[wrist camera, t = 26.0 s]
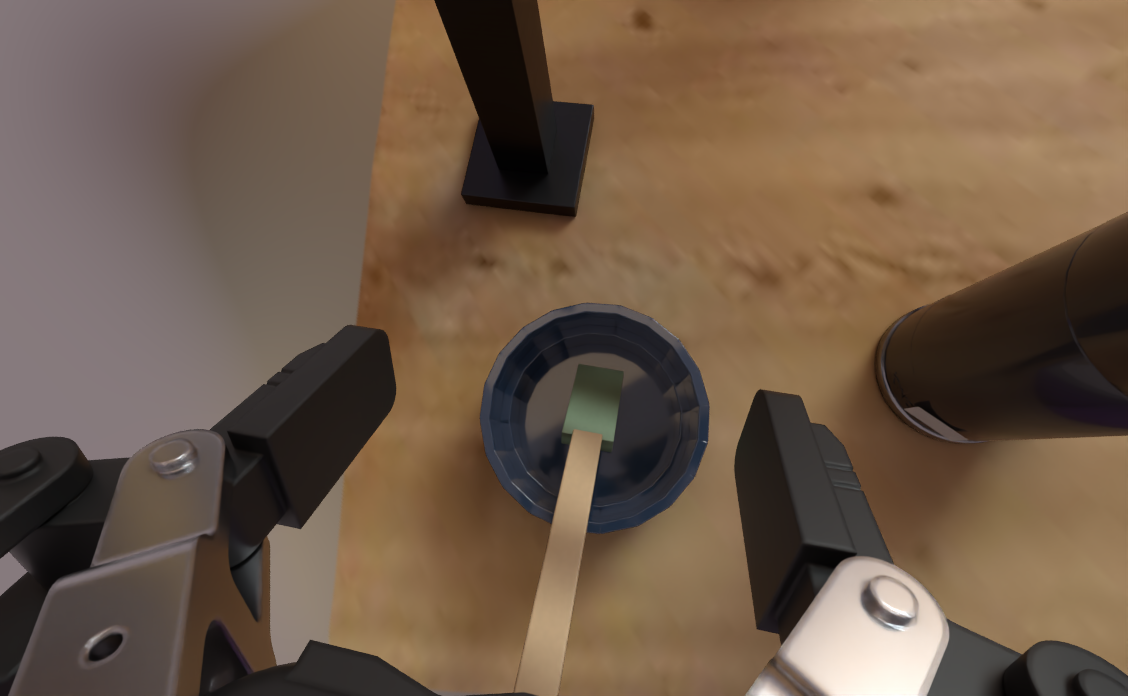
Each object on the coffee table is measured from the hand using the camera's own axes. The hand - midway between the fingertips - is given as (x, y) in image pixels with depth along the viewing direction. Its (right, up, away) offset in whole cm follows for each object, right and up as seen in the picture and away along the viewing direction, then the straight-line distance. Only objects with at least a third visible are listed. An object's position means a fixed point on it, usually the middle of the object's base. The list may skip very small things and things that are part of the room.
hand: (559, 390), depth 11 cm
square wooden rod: (+1, -9, +16) cm, 18 cm away
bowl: (+2, -4, +24) cm, 24 cm away
